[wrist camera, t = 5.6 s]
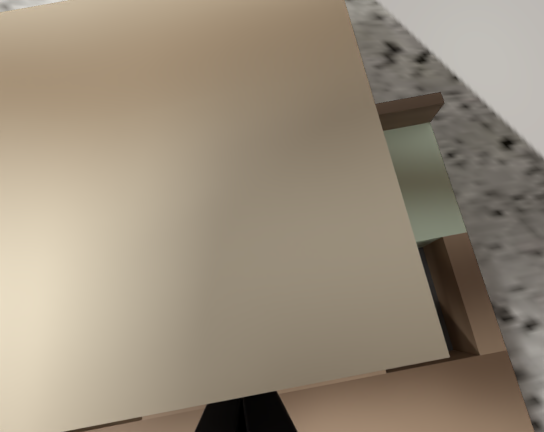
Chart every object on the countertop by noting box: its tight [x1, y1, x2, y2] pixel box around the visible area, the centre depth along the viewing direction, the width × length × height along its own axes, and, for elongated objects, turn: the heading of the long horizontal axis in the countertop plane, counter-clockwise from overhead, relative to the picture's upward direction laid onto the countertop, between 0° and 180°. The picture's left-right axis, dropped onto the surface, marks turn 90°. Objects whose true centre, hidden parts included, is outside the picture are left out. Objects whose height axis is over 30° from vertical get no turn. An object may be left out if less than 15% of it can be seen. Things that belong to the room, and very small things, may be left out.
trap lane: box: [64, 92, 534, 432], centre depth 13 cm, size 22×18×4 cm
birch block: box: [0, 0, 450, 432], centre depth 10 cm, size 6×6×10 cm
